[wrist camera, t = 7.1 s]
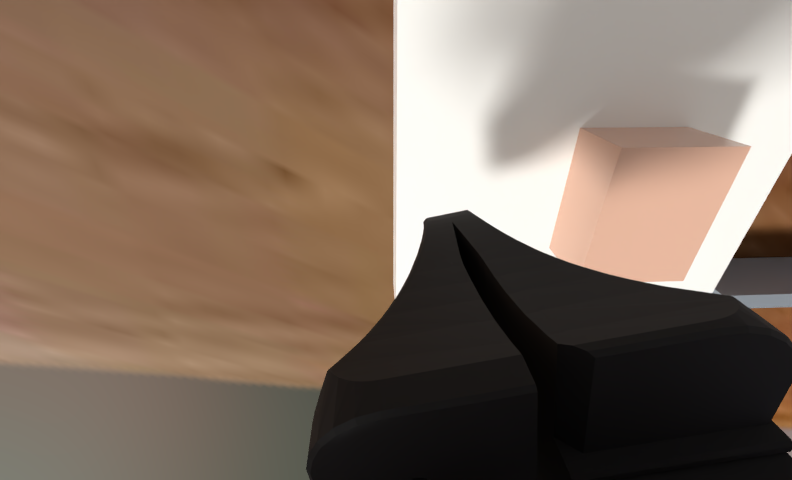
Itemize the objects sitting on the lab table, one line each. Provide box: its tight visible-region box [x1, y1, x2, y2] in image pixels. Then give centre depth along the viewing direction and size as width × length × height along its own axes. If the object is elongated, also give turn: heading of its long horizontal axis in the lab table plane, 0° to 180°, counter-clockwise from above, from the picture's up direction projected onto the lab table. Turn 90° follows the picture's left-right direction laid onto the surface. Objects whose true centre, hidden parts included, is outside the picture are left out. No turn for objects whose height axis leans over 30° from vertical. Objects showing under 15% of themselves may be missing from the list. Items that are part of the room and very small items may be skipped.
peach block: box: [549, 127, 751, 282], centre depth 13 cm, size 4×5×2 cm
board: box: [393, 0, 792, 298], centre depth 14 cm, size 15×18×2 cm
